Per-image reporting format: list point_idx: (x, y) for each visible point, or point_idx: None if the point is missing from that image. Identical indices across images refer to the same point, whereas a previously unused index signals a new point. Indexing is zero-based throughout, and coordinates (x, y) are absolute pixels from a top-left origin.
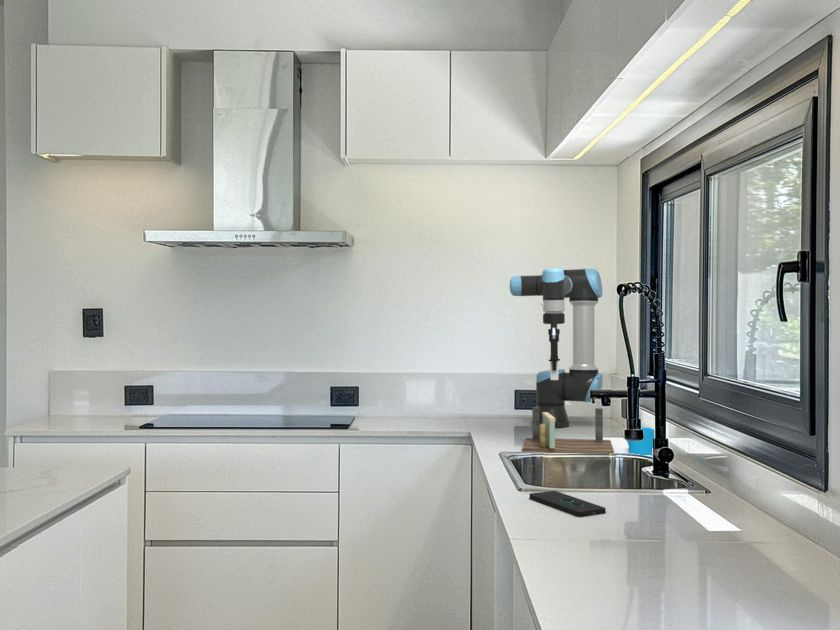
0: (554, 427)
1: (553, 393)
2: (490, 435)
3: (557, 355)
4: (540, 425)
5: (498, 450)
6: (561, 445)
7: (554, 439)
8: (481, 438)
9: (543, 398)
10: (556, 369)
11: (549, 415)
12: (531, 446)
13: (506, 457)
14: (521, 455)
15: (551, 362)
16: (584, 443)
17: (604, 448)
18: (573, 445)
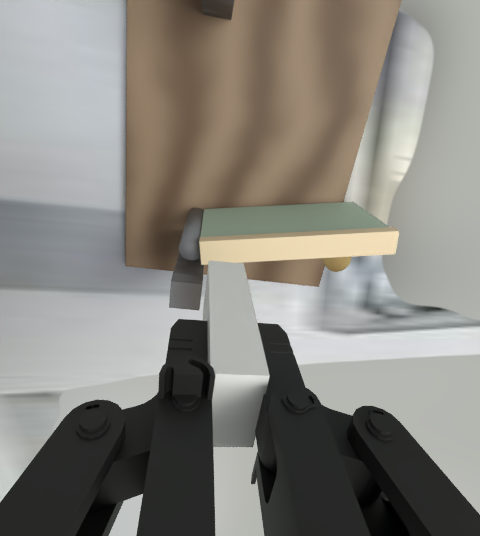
0: (381, 222)
1: None
2: (53, 349)
3: (441, 474)
4: (341, 267)
5: (297, 333)
6: (275, 169)
7: (363, 210)
8: (113, 369)
9: None
10: (284, 331)
11: (312, 245)
12: (289, 261)
13: (391, 319)
14: (372, 287)
15: (254, 426)
16: (233, 72)
17: (347, 7)
18: (276, 126)
